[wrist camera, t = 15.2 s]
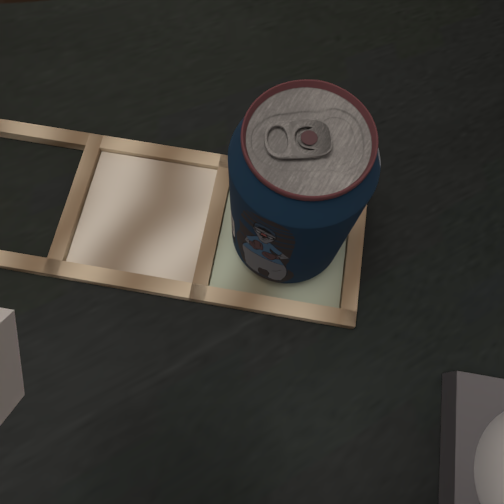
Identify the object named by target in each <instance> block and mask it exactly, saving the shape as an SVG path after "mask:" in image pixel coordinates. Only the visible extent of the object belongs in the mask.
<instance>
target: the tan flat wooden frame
mask: <svg viewBox="0 0 504 504" xmlns="http://www.w3.org/2000/svg"><path fill="white" fill-rule="evenodd" d="M0 137H4V138H10V139H16V140H22V141H29V142H35V143H41V144H47V145H53V146H59V147H66V148H72V149H78V150H84V151H83V154H82V157H81V160H80V163H79V166H78V169H77V172H76V175H75V178H74V181H73V184H72V187H71V189H70V192H69V195H68V198H67V201H66V204H65V207H64V210H63V213H62V216H61V219H60V222H59V225H58V228H57V230H56V233H55V236H54V239H53V242H52V245H51V248H50V251H49V254H48V257H47V258H44V257H38V256H33V255H27V254H21V253H15V252H9V251H4V250H0V268H3V269H9V270H15V271H20V272H26V273H32V274H38V275H43V276H49V277H55V278H61V279H66V280H72V281H78V282H84V283H89V284H95V285H101V286H107V287H112V288H118V289H124V290H130V291H136V292H141V293H147V294H153V295H159V296H164V297H170V298H176V299H182V300H187V301H193V302H199V303H205V304H210V305H216V306H222V307H228V308H233V309H239V310H245V311H251V312H256V313H262V314H268V315H274V316H280V317H285V318H291V319H297V320H303V321H308V322H314V323H320V324H326V325H331V326H337V327H343V328H349V329H353V328H355V325H356V314H357V304H358V293H359V283H360V272H361V262H362V251H363V241H364V230H365V220H366V209H367V205H366V206H365V208H364V210H363V211H362V213H361V215H360V216H359V218H358V220H357V221H356V223H355V225H354V226H353V228H352V229H351V231H350V233H349V234H348V236H347V238H346V239H345V241H344V243H343V244H342V246H341V248H340V249H339V251H338V253H337V254H336V256H335V257H334V259H333V261H332V262H331V263H330V265H329V266H328V267H327V268H326V269H325V270H324V271H323V272H321V273H320V274H318V275H317V276H315V277H313V278H311V279H309V280H306V281H303V282H298V283H277V282H273V281H269V280H267V279H264V278H262V277H260V276H258V275H257V274H255V273H254V272H253V271H251V270H250V269H249V268H248V267H247V266H246V265H245V264H244V263H243V261H242V260H241V259H240V257H239V255H238V254H237V251H236V249H235V246H234V243H233V238H232V224H231V208H230V191H229V174H228V155H222V154H216V153H210V152H204V151H197V150H191V149H185V148H179V147H172V146H166V145H160V144H154V143H148V142H141V141H135V140H129V139H123V138H116V137H110V136H104V135H98V134H91V133H85V132H79V131H73V130H66V129H60V128H54V127H48V126H42V125H35V124H29V123H23V122H17V121H10V120H4V119H0Z"/></svg>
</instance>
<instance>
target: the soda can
mask: <svg viewBox="0 0 504 504" xmlns="http://www.w3.org/2000/svg"><path fill="white" fill-rule="evenodd" d="M380 167H381V162H380V153H379V149H378V133H377V129H376V126H375V123H374V120H373V118H372V116H371V115H370V113H369V111H368V110H367V109H366V107H365V106H364V105H363V104H362V103H361V102H360V101H359V100H358V99H357V98H356V97H355V96H353V95H352V94H351V93H349V92H348V91H346V90H344V89H343V88H341V87H339V86H337V85H334V84H332V83H329V82H325V81H320V80H310V79H306V80H294V81H289V82H285V83H282V84H279V85H277V86H274V87H272V88H270V89H269V90H267V91H266V92H264V93H263V94H261V95H260V96H259V97H258V98H257V99H256V100H255V101H254V102H253V103H252V105H251V106H250V108H249V109H248V111H247V113H246V115H245V117H244V118H243V119H242V120H241V122H240V123H239V125H238V126H237V128H236V129H235V131H234V133H233V135H232V138H231V141H230V144H229V149H228V174H229V191H230V208H231V224H232V238H233V243H234V246H235V249H236V251H237V254H238V255H239V257H240V259H241V260H242V261H243V263H244V264H245V265H246V266H247V267H248V268H249V269H250V270H251V271H253V272H254V273H255V274H257V275H258V276H260V277H262V278H264V279H267V280H269V281H273V282H277V283H298V282H303V281H306V280H309V279H311V278H313V277H315V276H317V275H318V274H320V273H321V272H323V271H324V270H325V269H326V268H327V267H328V266H329V265H330V263H331V262H332V261H333V259H334V257H335V256H336V254H337V253H338V251H339V249H340V248H341V246H342V244H343V243H344V241H345V239H346V238H347V236H348V234H349V233H350V231H351V229H352V228H353V226H354V225H355V223H356V221H357V220H358V218H359V216H360V215H361V213H362V211H363V210H364V208H365V206H366V205H367V203H368V201H369V200H370V198H371V196H372V195H373V193H374V191H375V189H376V187H377V184H378V181H379V176H380Z"/></svg>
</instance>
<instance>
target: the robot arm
mask: <svg viewBox="0 0 504 504" xmlns="http://www.w3.org/2000/svg"><path fill="white" fill-rule="evenodd" d="M24 395H25V393H24V385H23V377H22V369H21V361H20V353H19V344H18V336H17V328H16V320H15V312H14V310H11V309H5V308H0V425H1V424H2V423H3V421H4V420H5V419H6V418H7V416H8V415H9V414H10V413H11V411H12V410H13V409H14V408H15V406H16V405H17V404H18V402H19V401H20V400H21V399H22V397H23V396H24Z"/></svg>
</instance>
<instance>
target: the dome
mask: <svg viewBox="0 0 504 504" xmlns="http://www.w3.org/2000/svg"><path fill="white" fill-rule="evenodd" d="M438 504H504V379H501V378H495V377H489V376H484V375H478V374H472V373H467V372H461V371H453V372H447V373H442V398H441V432H440V466H439V500H438Z"/></svg>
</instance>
